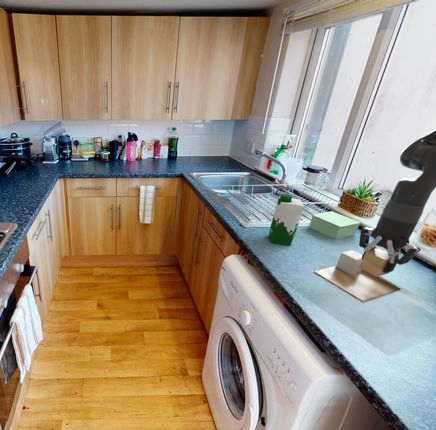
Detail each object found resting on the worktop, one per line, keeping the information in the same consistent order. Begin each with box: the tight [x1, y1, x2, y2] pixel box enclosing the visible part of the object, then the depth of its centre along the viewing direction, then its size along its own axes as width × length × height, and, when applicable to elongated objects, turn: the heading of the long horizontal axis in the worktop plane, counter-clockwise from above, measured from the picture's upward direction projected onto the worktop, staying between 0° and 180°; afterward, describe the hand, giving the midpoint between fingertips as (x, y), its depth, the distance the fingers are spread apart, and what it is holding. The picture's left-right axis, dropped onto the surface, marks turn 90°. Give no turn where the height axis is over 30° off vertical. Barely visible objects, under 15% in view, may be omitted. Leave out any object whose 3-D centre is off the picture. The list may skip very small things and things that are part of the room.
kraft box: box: [359, 247, 389, 277], centre depth 86 cm, size 6×5×6 cm
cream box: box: [335, 249, 363, 274], centre depth 100 cm, size 6×5×6 cm
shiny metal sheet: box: [313, 265, 401, 303], centre depth 96 cm, size 18×16×1 cm
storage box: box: [308, 210, 362, 241], centre depth 124 cm, size 13×13×8 cm
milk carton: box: [268, 193, 305, 247], centre depth 116 cm, size 9×9×20 cm
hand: (375, 266), depth 87 cm, fingers closed on kraft box, 5 cm apart
